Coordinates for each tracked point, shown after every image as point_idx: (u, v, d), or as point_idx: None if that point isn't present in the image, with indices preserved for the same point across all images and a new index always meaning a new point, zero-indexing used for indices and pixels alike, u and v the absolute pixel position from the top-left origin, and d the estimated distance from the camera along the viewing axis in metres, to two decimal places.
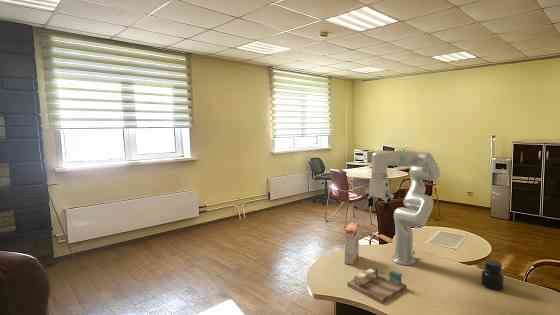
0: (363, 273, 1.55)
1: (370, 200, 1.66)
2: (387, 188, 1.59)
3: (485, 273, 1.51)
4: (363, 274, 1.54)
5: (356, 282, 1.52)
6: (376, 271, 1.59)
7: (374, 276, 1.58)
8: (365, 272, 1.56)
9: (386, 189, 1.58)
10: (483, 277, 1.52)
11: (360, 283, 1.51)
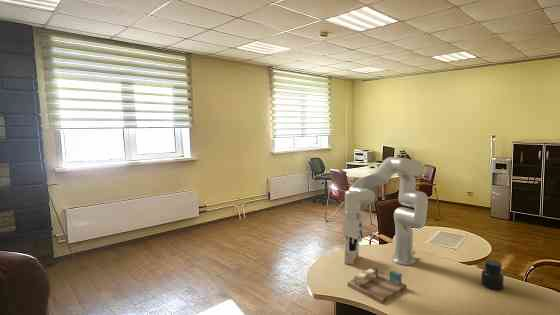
0: (363, 273, 1.55)
1: None
2: (360, 228, 1.53)
3: (485, 273, 1.51)
4: (363, 274, 1.54)
5: (356, 282, 1.52)
6: (376, 271, 1.59)
7: (374, 276, 1.58)
8: (365, 272, 1.56)
9: (359, 232, 1.52)
10: (483, 277, 1.52)
11: (360, 283, 1.51)
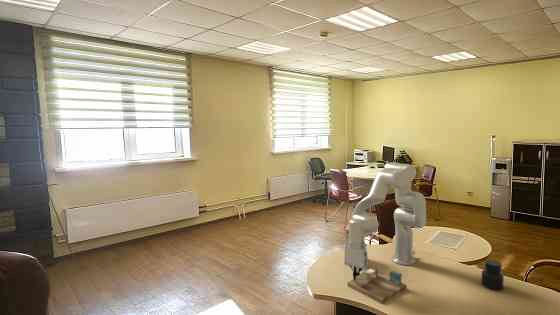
0: (364, 273, 1.55)
1: None
2: (366, 257, 1.53)
3: (485, 273, 1.51)
4: (364, 275, 1.54)
5: (357, 283, 1.52)
6: (376, 271, 1.59)
7: (374, 276, 1.58)
8: (366, 272, 1.56)
9: (364, 261, 1.52)
10: (483, 277, 1.52)
11: (361, 284, 1.51)
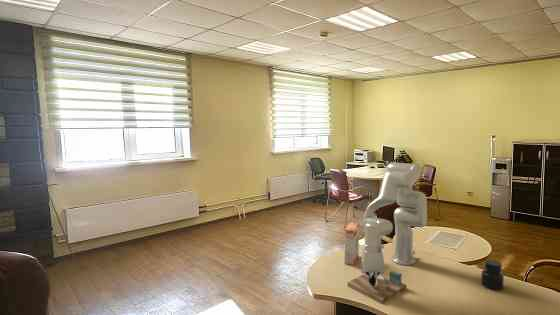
0: (378, 276, 1.52)
1: None
2: None
3: (485, 273, 1.51)
4: (380, 277, 1.51)
5: (382, 288, 1.47)
6: None
7: None
8: None
9: None
10: (483, 277, 1.52)
11: None
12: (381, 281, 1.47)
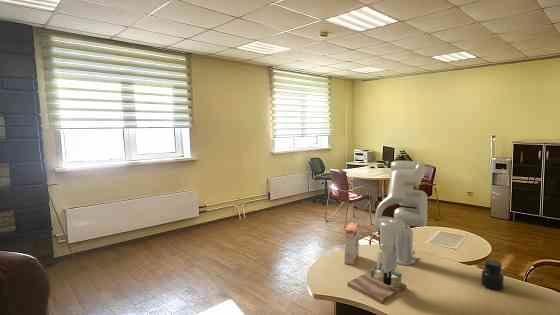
0: None
1: None
2: None
3: (485, 273, 1.51)
4: None
5: (399, 284, 1.49)
6: None
7: None
8: None
9: None
10: (483, 277, 1.52)
11: None
12: (397, 278, 1.50)
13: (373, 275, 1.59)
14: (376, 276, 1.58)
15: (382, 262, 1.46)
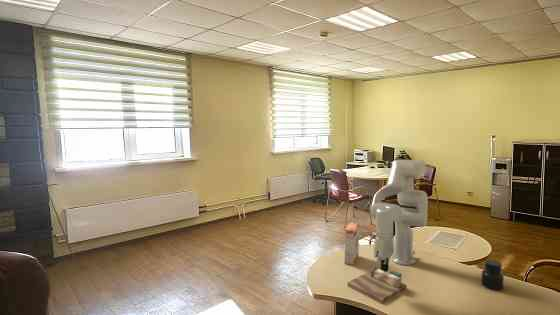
0: (388, 274, 1.53)
1: None
2: None
3: (485, 273, 1.51)
4: (391, 275, 1.53)
5: (399, 284, 1.49)
6: None
7: None
8: (385, 273, 1.55)
9: None
10: (483, 277, 1.52)
11: None
12: (397, 278, 1.50)
13: (373, 275, 1.59)
14: (376, 276, 1.58)
15: (379, 249, 1.44)
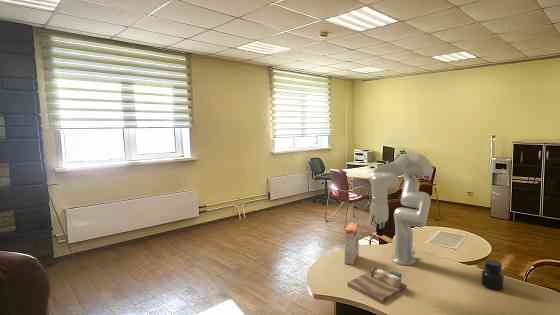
0: (388, 274, 1.53)
1: None
2: None
3: (485, 273, 1.51)
4: (391, 275, 1.53)
5: (399, 284, 1.49)
6: None
7: None
8: (385, 273, 1.55)
9: None
10: (483, 277, 1.52)
11: None
12: (397, 278, 1.50)
13: (373, 275, 1.59)
14: (376, 276, 1.58)
15: (374, 214, 1.52)
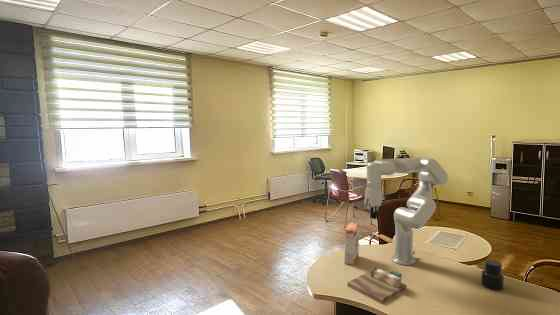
0: (388, 274, 1.53)
1: None
2: None
3: (485, 273, 1.51)
4: (391, 275, 1.53)
5: (399, 284, 1.49)
6: None
7: None
8: (385, 273, 1.55)
9: None
10: (483, 277, 1.52)
11: None
12: (397, 278, 1.50)
13: (373, 275, 1.59)
14: (376, 276, 1.58)
15: (368, 197, 1.65)
